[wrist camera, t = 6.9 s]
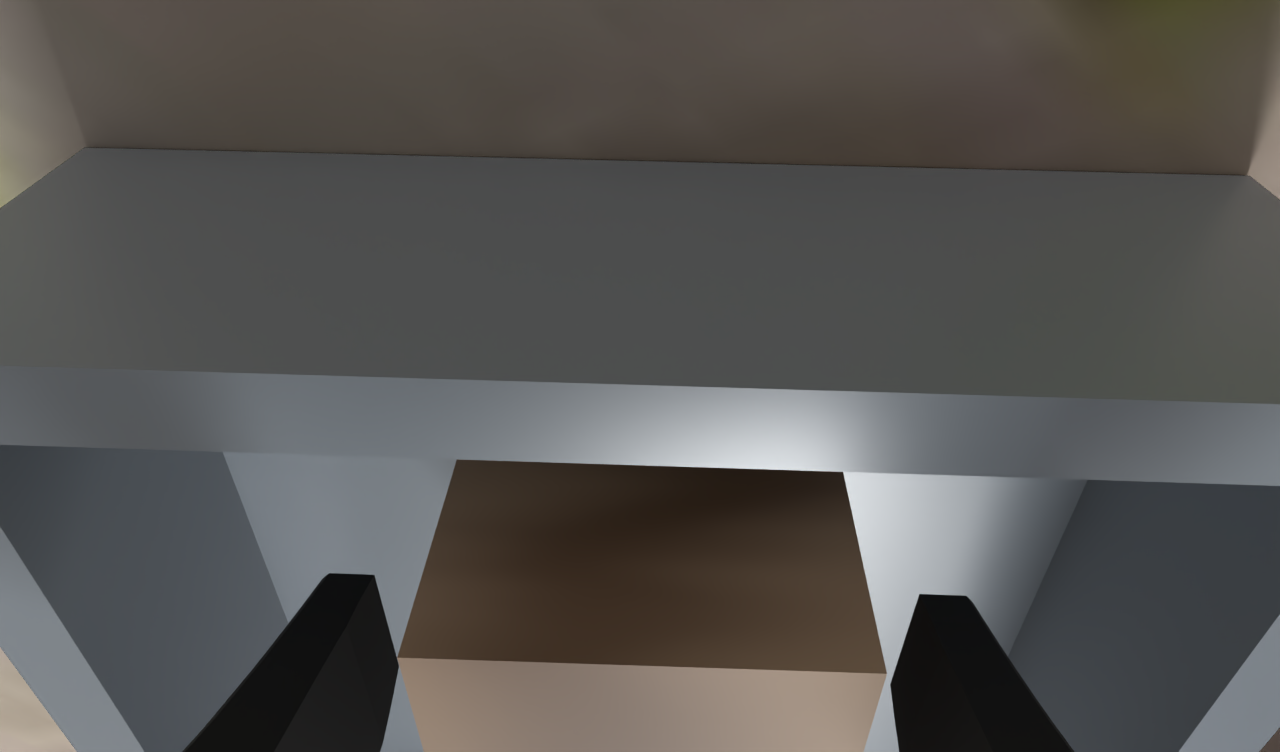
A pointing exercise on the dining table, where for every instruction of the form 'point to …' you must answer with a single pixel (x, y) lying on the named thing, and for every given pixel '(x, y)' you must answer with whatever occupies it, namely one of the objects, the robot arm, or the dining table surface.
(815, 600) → the cube
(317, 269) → the tote
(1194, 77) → the dining table surface
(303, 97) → the dining table surface
